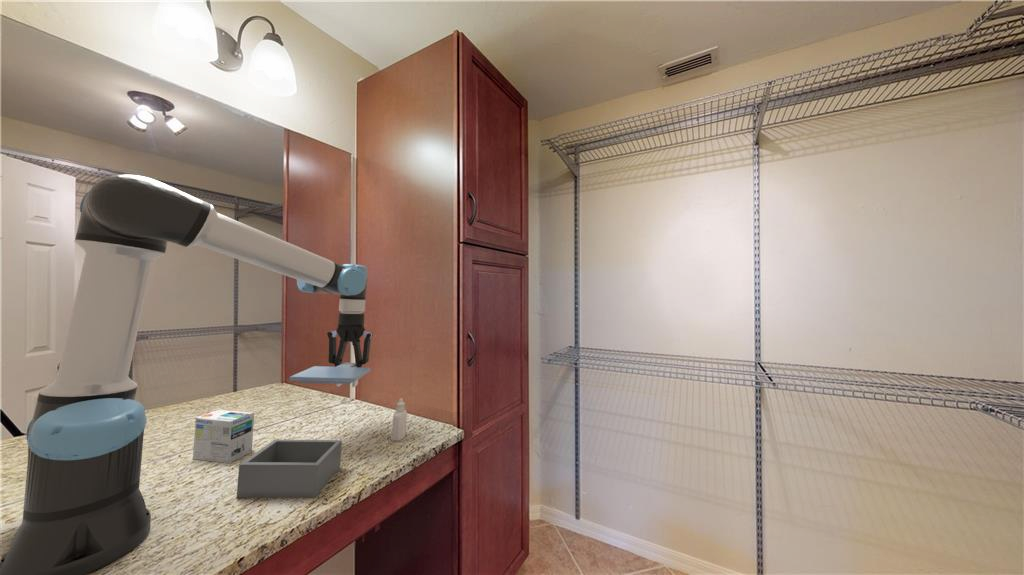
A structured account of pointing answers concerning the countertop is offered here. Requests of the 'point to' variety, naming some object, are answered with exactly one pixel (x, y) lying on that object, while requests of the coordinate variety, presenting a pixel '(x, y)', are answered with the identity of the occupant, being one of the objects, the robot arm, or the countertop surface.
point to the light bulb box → (223, 435)
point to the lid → (331, 374)
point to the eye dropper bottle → (399, 422)
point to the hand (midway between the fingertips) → (347, 385)
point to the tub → (289, 469)
